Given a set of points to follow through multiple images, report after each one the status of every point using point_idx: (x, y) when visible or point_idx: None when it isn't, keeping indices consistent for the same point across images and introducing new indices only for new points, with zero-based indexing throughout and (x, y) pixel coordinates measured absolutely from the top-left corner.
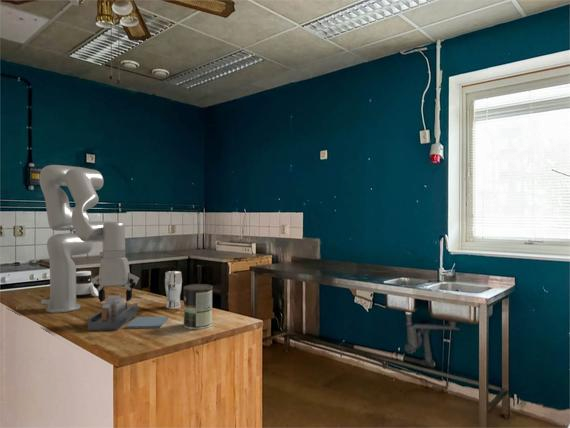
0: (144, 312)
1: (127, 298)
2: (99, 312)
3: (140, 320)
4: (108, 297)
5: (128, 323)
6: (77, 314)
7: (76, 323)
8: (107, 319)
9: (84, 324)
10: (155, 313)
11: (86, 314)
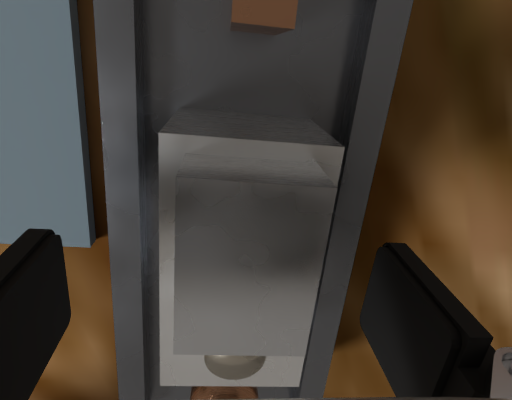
0: (103, 378)
1: (22, 244)
2: (357, 169)
3: (7, 146)
4: (306, 260)
5: (74, 62)
6: None
7: (486, 175)
8: None
9: (431, 144)
10: None
11: None
